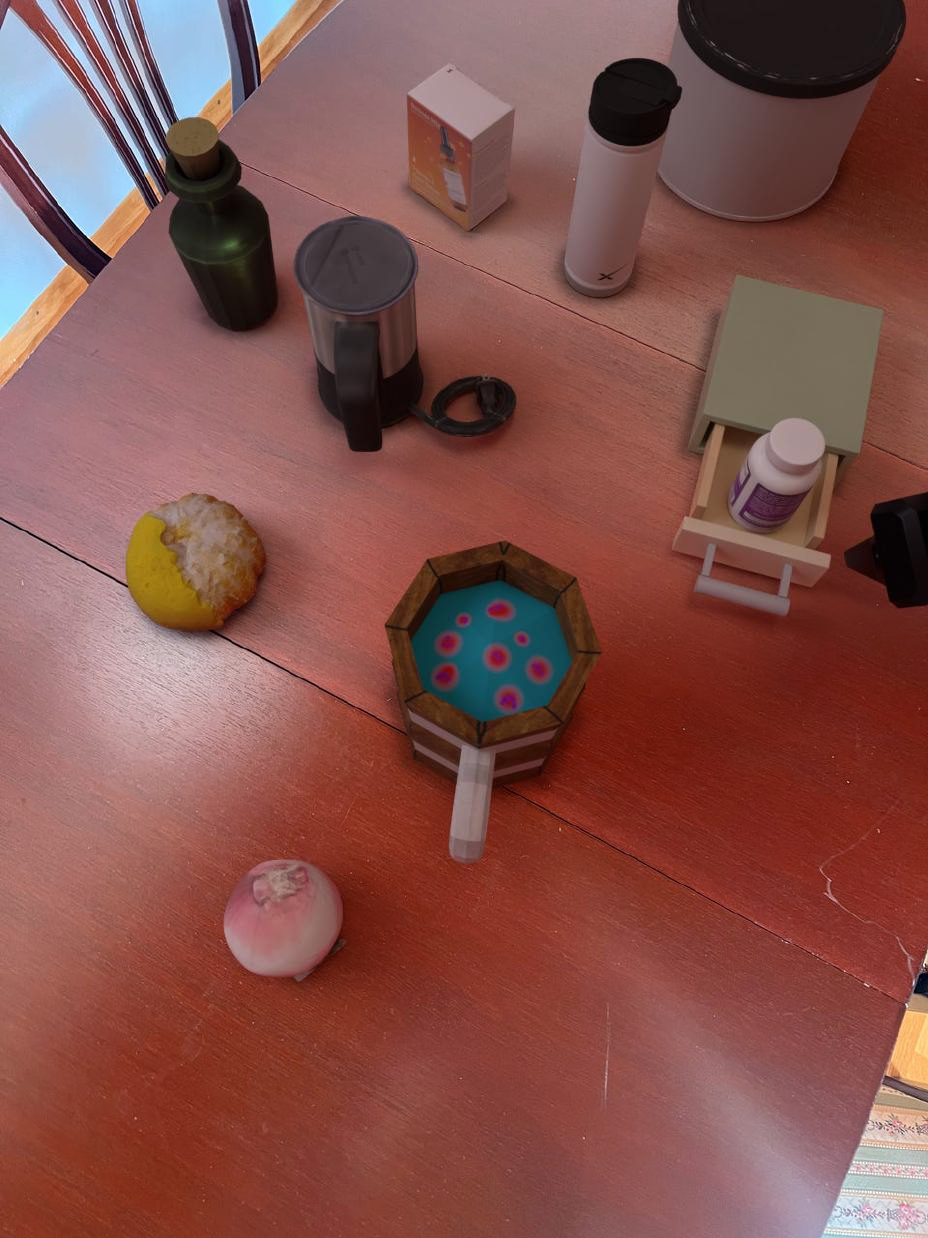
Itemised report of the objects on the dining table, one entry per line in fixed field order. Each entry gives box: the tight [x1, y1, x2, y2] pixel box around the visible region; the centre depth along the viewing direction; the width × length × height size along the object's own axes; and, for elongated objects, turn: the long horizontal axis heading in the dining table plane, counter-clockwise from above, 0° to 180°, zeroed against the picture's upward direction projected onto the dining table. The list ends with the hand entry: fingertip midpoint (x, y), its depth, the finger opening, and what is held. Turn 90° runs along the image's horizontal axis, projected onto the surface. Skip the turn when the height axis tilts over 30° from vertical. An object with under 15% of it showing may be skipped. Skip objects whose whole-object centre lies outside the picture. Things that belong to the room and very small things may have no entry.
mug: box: [383, 540, 603, 865], centre depth 65 cm, size 20×14×15 cm
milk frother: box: [292, 215, 517, 453], centre depth 76 cm, size 14×16×15 cm
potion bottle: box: [164, 116, 279, 331], centre depth 78 cm, size 8×8×18 cm
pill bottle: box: [727, 418, 825, 533], centre depth 73 cm, size 5×5×10 cm
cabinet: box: [686, 274, 885, 489], centre depth 81 cm, size 15×13×6 cm
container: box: [657, 0, 907, 223], centre depth 87 cm, size 19×19×15 cm
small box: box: [406, 62, 516, 232], centre depth 86 cm, size 8×6×10 cm
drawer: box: [671, 421, 839, 618], centre depth 76 cm, size 18×11×4 cm, turn 163°
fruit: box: [125, 492, 268, 633], centre depth 74 cm, size 11×10×8 cm
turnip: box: [223, 859, 347, 983], centre depth 63 cm, size 8×8×7 cm
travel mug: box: [563, 57, 682, 298], centre depth 79 cm, size 6×7×20 cm
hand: (897, 546), depth 65 cm, fingers open, 9 cm apart
